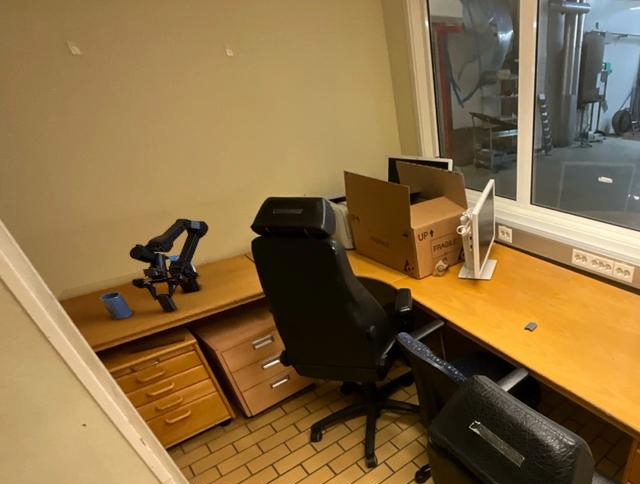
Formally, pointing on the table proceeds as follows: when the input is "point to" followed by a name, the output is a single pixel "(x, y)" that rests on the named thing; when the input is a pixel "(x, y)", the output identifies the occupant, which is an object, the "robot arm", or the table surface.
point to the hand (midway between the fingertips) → (163, 298)
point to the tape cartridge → (177, 259)
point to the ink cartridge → (166, 302)
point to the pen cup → (116, 305)
